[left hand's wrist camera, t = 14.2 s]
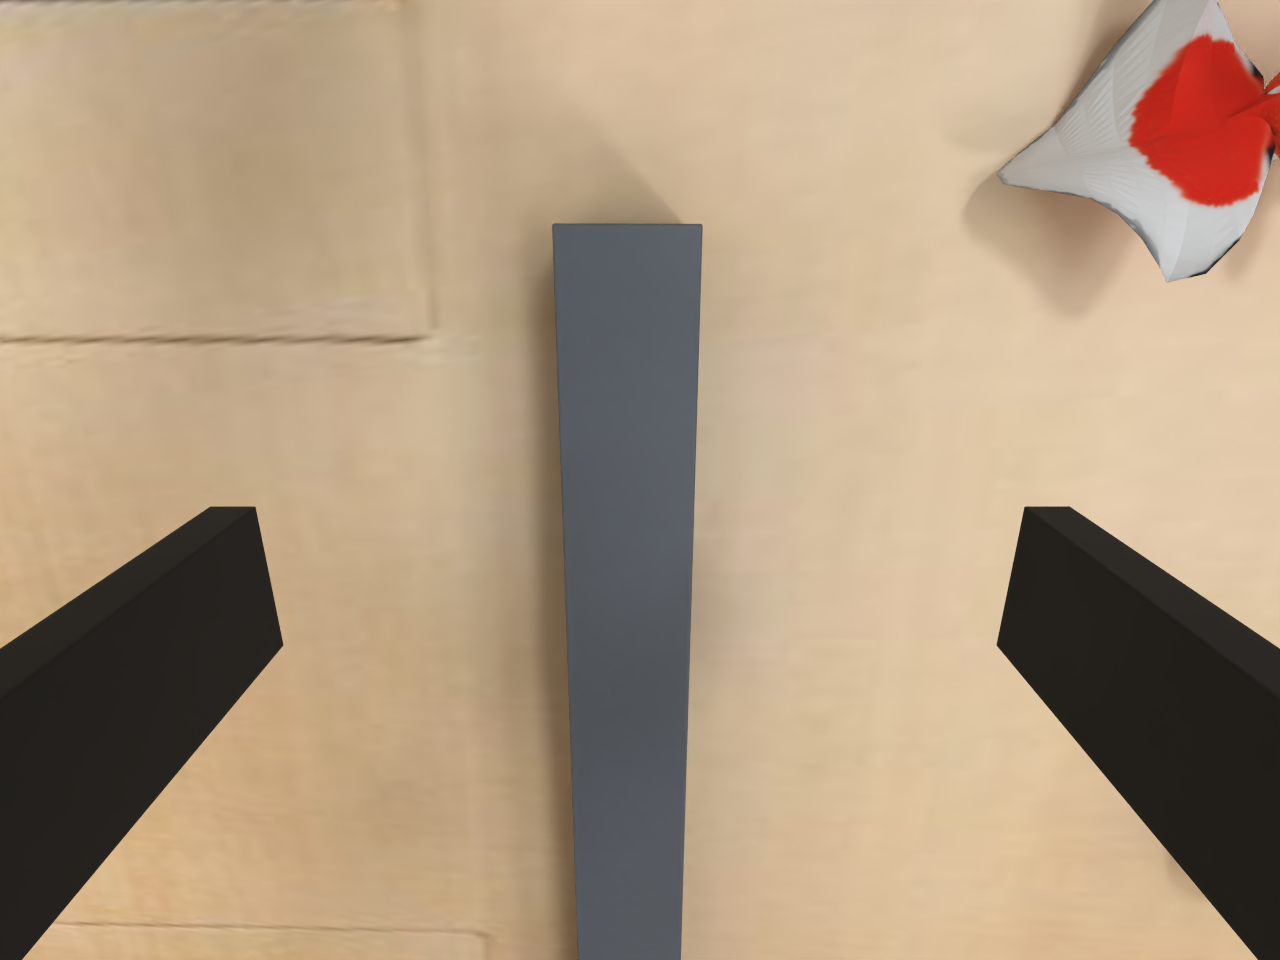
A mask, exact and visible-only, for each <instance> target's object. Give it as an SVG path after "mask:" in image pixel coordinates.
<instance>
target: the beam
mask: <svg viewBox="0 0 1280 960" xmlns="http://www.w3.org/2000/svg"><path fill="white" fill-rule="evenodd" d="M552 232H553V260H554V289H555V317H556V345H557V374H558V402H559V431H560V459H561V488H562V516H563V545H564V573H565V601H566V630H567V658H568V687H569V715H570V744H571V772H572V801H573V829H574V857H575V886H576V914H577V943H578V960H681V931H682V897H683V863H684V830H685V796H686V763H687V729H688V695H689V662H690V628H691V595H692V561H693V527H694V494H695V460H696V427H697V393H698V360H699V326H700V292H701V259H702V225H701V224H553V225H552Z"/></svg>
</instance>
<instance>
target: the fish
mask: <svg viewBox="0 0 1280 960" xmlns="http://www.w3.org/2000/svg"><path fill="white" fill-rule="evenodd" d="M1278 157H1279V158H1280V73H1279V74H1278V75H1276V76H1275V77H1274V79H1273V80H1272V81H1271V82H1270V83H1269V84H1268V86H1267V87H1266V88H1265V90H1264V81H1263V75H1262V74H1261V73H1260V72H1259V71H1258V69H1257V68H1256V67H1255V66H1254V65H1253V63H1252V62H1251V61H1250V60H1249V59H1248V57H1247V56H1246V55H1245V54H1244V53H1243V52H1242V50H1241V49H1240V48H1239V47H1238V46H1237V44H1236V43H1235V41H1234V38H1233V36H1232V33H1231V30H1230V27H1229V24H1228V22H1227V20H1226V18H1225V16H1224V14H1223V12H1222V10H1221V8H1220V6H1219V4H1218V0H1154V1H1153V2H1152V3H1151V4H1150V5H1149V6H1148V7H1147V9H1146V10H1145V11H1144V12H1143V13H1142V14H1141V15H1140V16H1139V18H1138V19H1137V20H1136V21H1135V22H1134V23H1133V24H1132V26H1131V27H1130V28H1129V29H1128V30H1127V31H1126V32H1125V33H1124V35H1123V36H1122V37H1121V38H1120V39H1119V40H1118V41H1117V43H1116V44H1115V45H1114V47H1113V48H1112V49H1111V51H1110V52H1109V53H1108V55H1107V56H1106V57H1105V59H1104V60H1103V61H1102V63H1101V64H1100V66H1099V67H1098V68H1097V70H1096V71H1095V72H1094V74H1093V75H1092V76H1091V78H1090V79H1089V80H1088V82H1087V83H1086V85H1085V86H1084V87H1083V89H1082V90H1081V91H1080V92H1079V94H1078V95H1077V96H1076V98H1075V99H1074V100H1073V101H1072V103H1071V104H1070V105H1069V107H1068V108H1067V109H1066V111H1065V112H1064V113H1063V114H1062V116H1061V117H1060V118H1059V120H1058V121H1057V122H1056V123H1055V125H1054V126H1053V127H1051V128H1050V129H1049V130H1047V131H1046V132H1045V133H1044V134H1042V135H1041V136H1040V137H1039V138H1037V139H1036V140H1035V141H1033V142H1032V143H1031V144H1030V145H1029V146H1027V147H1026V148H1025V149H1024V150H1023V151H1022V152H1020V153H1019V154H1018V155H1017V156H1016V157H1015V158H1013V159H1012V160H1011V161H1009V162H1008V163H1007V164H1006V165H1004V166H1003V167H1002V168H1001V169H1000V170H999V171H998V173H997V175H998V176H999V178H1000V179H1001V181H1002V183H1003V184H1006V185H1011V186H1015V187H1022V188H1031V189H1039V190H1044V191H1050V192H1056V193H1062V194H1068V195H1074V196H1080V197H1086V198H1091V199H1093V200H1095V201H1096V202H1098V203H1100V204H1102V205H1103V206H1105V207H1107V208H1108V209H1110V210H1112V211H1114V212H1115V213H1117V214H1118V215H1119V216H1120V217H1121V218H1122V219H1123V220H1124V221H1125V222H1126V223H1127V224H1128V225H1129V226H1130V227H1131V228H1132V229H1133V230H1134V231H1135V232H1136V233H1137V234H1138V235H1139V236H1140V237H1141V238H1142V240H1143V241H1144V243H1145V244H1146V246H1147V248H1148V249H1149V251H1150V253H1151V254H1152V256H1153V257H1154V259H1155V261H1156V262H1157V264H1158V265H1159V267H1160V270H1161V272H1162V274H1163V276H1164V278H1165V280H1166V282H1172V281H1176V280H1180V279H1185V278H1189V277H1193V276H1198V275H1202V274H1206V273H1207V272H1208V271H1209V270H1210V269H1211V268H1212V267H1213V266H1214V265H1215V264H1216V263H1217V262H1218V261H1219V260H1220V259H1221V258H1222V257H1223V256H1224V255H1225V254H1226V253H1227V252H1228V251H1229V250H1230V249H1231V248H1232V247H1233V246H1234V245H1235V244H1236V243H1237V242H1238V241H1239V239H1240V238H1241V236H1242V234H1243V232H1244V230H1245V229H1246V227H1247V225H1248V223H1249V222H1250V220H1251V218H1252V216H1253V214H1254V211H1255V209H1256V206H1257V203H1258V200H1259V198H1260V195H1261V192H1262V189H1263V186H1264V183H1265V180H1266V177H1267V174H1268V171H1269V167H1270V164H1271V162H1273V161H1274V160H1275V159H1277V158H1278Z"/></svg>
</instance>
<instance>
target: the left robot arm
mask: <svg viewBox="0 0 1280 960" xmlns="http://www.w3.org/2000/svg"><path fill="white" fill-rule="evenodd" d="M282 646H283V641H282V636H281V631H280V626H279V621H278V616H277V611H276V606H275V601H274V596H273V592H272V587H271V582H270V577H269V572H268V567H267V562H266V557H265V552H264V547H263V542H262V537H261V532H260V527H259V522H258V517H257V512H256V508H255V507H209V508H208V509H206V510H205V511H203V512H202V513H200V514H199V515H197V516H196V517H194V518H193V519H191V520H190V521H188V522H187V523H186V524H184V525H183V526H181V527H180V528H178V529H177V530H175V531H174V532H172V533H171V534H169V535H168V536H166V537H165V538H163V539H162V540H160V541H159V542H157V543H156V544H154V545H153V546H152V547H150V548H149V549H147V550H146V551H144V552H143V553H141V554H140V555H138V556H137V557H135V558H134V559H132V560H131V561H129V562H128V563H126V564H125V565H123V566H122V567H120V568H119V569H117V570H116V571H115V572H113V573H112V574H110V575H109V576H107V577H106V578H104V579H103V580H101V581H100V582H98V583H97V584H95V585H94V586H92V587H91V588H89V589H88V590H86V591H85V592H83V593H82V594H80V595H79V596H78V597H76V598H75V599H73V600H72V601H70V602H69V603H67V604H66V605H64V606H63V607H61V608H60V609H58V610H57V611H55V612H54V613H52V614H51V615H49V616H48V617H46V618H45V619H44V620H42V621H41V622H39V623H38V624H36V625H35V626H33V627H32V628H30V629H29V630H27V631H26V632H24V633H23V634H21V635H20V636H18V637H17V638H15V639H14V640H12V641H11V642H9V643H8V644H7V645H5V646H4V647H2V648H1V649H0V960H22V959H23V958H24V957H25V955H26V954H27V953H28V952H29V951H30V949H31V948H32V947H33V946H34V945H35V943H36V942H37V941H38V940H39V939H40V937H41V936H42V935H43V934H44V933H45V931H46V930H47V929H48V928H49V927H50V925H51V924H52V923H53V922H54V921H55V919H56V918H57V917H58V916H59V915H60V913H61V912H62V911H63V910H64V908H65V907H66V906H67V905H68V904H69V902H70V901H71V900H72V899H73V898H74V896H75V895H76V894H77V893H78V892H79V890H80V889H81V888H82V887H83V886H84V884H85V883H86V882H87V881H88V880H89V878H90V877H91V876H92V875H93V874H94V872H95V871H96V870H97V869H98V868H99V866H100V865H101V864H102V863H103V862H104V860H105V859H106V858H107V857H108V856H109V854H110V853H111V852H112V851H113V850H114V848H115V847H116V846H117V845H118V844H119V842H120V841H121V840H122V839H123V838H124V836H125V835H126V834H127V833H128V832H129V830H130V829H131V828H132V827H133V826H134V824H135V823H136V822H137V821H138V819H139V818H140V817H141V816H142V815H143V813H144V812H145V811H146V810H147V809H148V807H149V806H150V805H151V804H152V803H153V801H154V800H155V799H156V798H157V797H158V795H159V794H160V793H161V792H162V791H163V789H164V788H165V787H166V786H167V785H168V783H169V782H170V781H171V780H172V779H173V777H174V776H175V775H176V774H177V773H178V771H179V770H180V769H181V768H182V767H183V765H184V764H185V763H186V762H187V761H188V759H189V758H190V757H191V756H192V755H193V753H194V752H195V751H196V750H197V749H198V747H199V746H200V745H201V744H202V743H203V741H204V740H205V739H206V738H207V736H208V735H209V734H210V733H211V732H212V730H213V729H214V728H215V727H216V726H217V724H218V723H219V722H220V721H221V720H222V718H223V717H224V716H225V715H226V714H227V712H228V711H229V710H230V709H231V708H232V706H233V705H234V704H235V703H236V702H237V700H238V699H239V698H240V697H241V696H242V694H243V693H244V692H245V691H246V690H247V688H248V687H249V686H250V685H251V684H252V682H253V681H254V680H255V679H256V678H257V676H258V675H259V674H260V673H261V672H262V670H263V669H264V668H265V667H266V666H267V664H268V663H269V662H270V661H271V660H272V658H273V657H274V656H275V655H276V654H277V652H278V651H279V650H280V649H281V647H282ZM997 646H998V647H999V649H1000V650H1001V651H1002V652H1003V654H1004V655H1005V656H1006V657H1007V658H1008V660H1009V661H1010V662H1011V663H1012V664H1013V666H1014V667H1015V668H1016V669H1017V670H1018V672H1019V673H1020V674H1021V675H1022V676H1023V678H1024V679H1025V680H1026V681H1027V682H1028V684H1029V685H1030V686H1031V687H1032V688H1033V690H1034V691H1035V692H1036V693H1037V694H1038V696H1039V697H1040V698H1041V699H1042V700H1043V702H1044V703H1045V704H1046V705H1047V706H1048V708H1049V709H1050V710H1051V711H1052V712H1053V714H1054V715H1055V716H1056V717H1057V718H1058V720H1059V721H1060V722H1061V723H1062V724H1063V726H1064V727H1065V728H1066V729H1067V730H1068V732H1069V733H1070V734H1071V735H1072V736H1073V738H1074V739H1075V740H1076V741H1077V743H1078V744H1079V745H1080V746H1081V747H1082V749H1083V750H1084V751H1085V752H1086V753H1087V755H1088V756H1089V757H1090V758H1091V759H1092V761H1093V762H1094V763H1095V764H1096V765H1097V767H1098V768H1099V769H1100V770H1101V771H1102V773H1103V774H1104V775H1105V776H1106V777H1107V779H1108V780H1109V781H1110V782H1111V783H1112V785H1113V786H1114V787H1115V788H1116V789H1117V791H1118V792H1119V793H1120V794H1121V795H1122V797H1123V798H1124V799H1125V800H1126V801H1127V803H1128V804H1129V805H1130V806H1131V807H1132V809H1133V810H1134V811H1135V812H1136V813H1137V815H1138V816H1139V817H1140V818H1141V819H1142V821H1143V822H1144V823H1145V824H1146V826H1147V827H1148V828H1149V829H1150V830H1151V832H1152V833H1153V834H1154V835H1155V836H1156V838H1157V839H1158V840H1159V841H1160V842H1161V844H1162V845H1163V846H1164V847H1165V848H1166V850H1167V851H1168V852H1169V853H1170V854H1171V856H1172V857H1173V858H1174V859H1175V860H1176V862H1177V863H1178V864H1179V865H1180V866H1181V868H1182V869H1183V870H1184V871H1185V872H1186V874H1187V875H1188V876H1189V877H1190V878H1191V880H1192V881H1193V882H1194V883H1195V884H1196V886H1197V887H1198V888H1199V889H1200V890H1201V892H1202V893H1203V894H1204V895H1205V896H1206V898H1207V899H1208V900H1209V901H1210V902H1211V904H1212V905H1213V906H1214V907H1215V909H1216V910H1217V911H1218V912H1219V913H1220V915H1221V916H1222V917H1223V918H1224V919H1225V921H1226V922H1227V923H1228V924H1229V925H1230V927H1231V928H1232V929H1233V930H1234V931H1235V933H1236V934H1237V935H1238V936H1239V937H1240V939H1241V940H1242V941H1243V942H1244V943H1245V945H1246V946H1247V947H1248V948H1249V949H1250V951H1251V952H1252V953H1253V954H1254V955H1255V957H1256V958H1257V959H1258V960H1280V649H1279V648H1278V647H1276V646H1275V645H1273V644H1272V643H1271V642H1269V641H1268V640H1266V639H1265V638H1263V637H1262V636H1260V635H1259V634H1257V633H1256V632H1254V631H1253V630H1251V629H1250V628H1248V627H1247V626H1245V625H1244V624H1242V623H1241V622H1239V621H1238V620H1236V619H1235V618H1234V617H1232V616H1231V615H1229V614H1228V613H1226V612H1225V611H1223V610H1222V609H1220V608H1219V607H1217V606H1216V605H1214V604H1213V603H1211V602H1210V601H1208V600H1207V599H1205V598H1204V597H1202V596H1201V595H1200V594H1198V593H1197V592H1195V591H1194V590H1192V589H1191V588H1189V587H1188V586H1186V585H1185V584H1183V583H1182V582H1180V581H1179V580H1177V579H1176V578H1174V577H1173V576H1171V575H1170V574H1168V573H1167V572H1165V571H1164V570H1163V569H1161V568H1160V567H1158V566H1157V565H1155V564H1154V563H1152V562H1151V561H1149V560H1148V559H1146V558H1145V557H1143V556H1142V555H1140V554H1139V553H1137V552H1136V551H1134V550H1133V549H1131V548H1130V547H1128V546H1127V545H1126V544H1124V543H1123V542H1121V541H1120V540H1118V539H1117V538H1115V537H1114V536H1112V535H1111V534H1109V533H1108V532H1106V531H1105V530H1103V529H1102V528H1100V527H1099V526H1097V525H1096V524H1094V523H1093V522H1092V521H1090V520H1089V519H1087V518H1086V517H1084V516H1083V515H1081V514H1080V513H1078V512H1077V511H1075V510H1074V509H1072V508H1071V507H1025V508H1024V512H1023V517H1022V522H1021V527H1020V532H1019V537H1018V542H1017V547H1016V552H1015V557H1014V562H1013V567H1012V572H1011V577H1010V582H1009V587H1008V592H1007V596H1006V601H1005V606H1004V611H1003V616H1002V621H1001V626H1000V631H999V636H998V641H997Z"/></svg>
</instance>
